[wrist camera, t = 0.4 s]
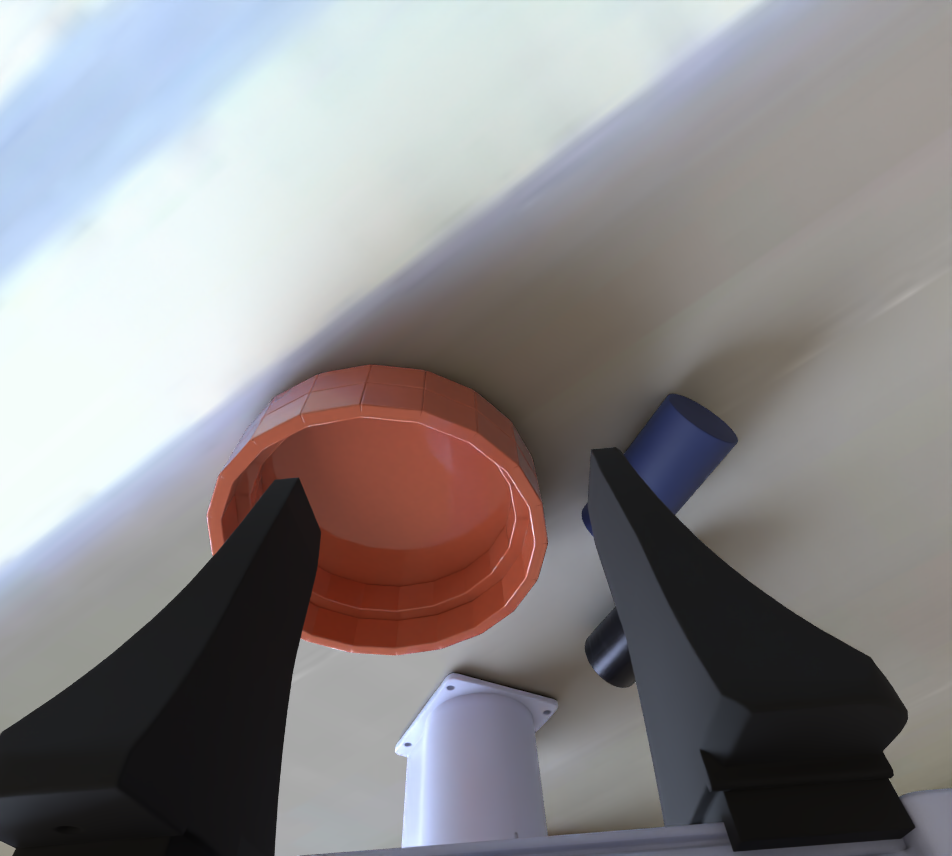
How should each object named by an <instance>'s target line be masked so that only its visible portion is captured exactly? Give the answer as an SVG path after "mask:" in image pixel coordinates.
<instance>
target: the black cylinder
mask: <svg viewBox="0 0 952 856" xmlns="http://www.w3.org/2000/svg"><path fill="white" fill-rule="evenodd" d="M585 653H586V656H587V659H588V661H589V663H590V665H591V666H592V668H593V669H594V670H595V672H596V673H597V674H598V675H599V676H600V677H601V678H602V679H604V680H605V681H606V682H608V683H610V684H611V685H613V686H616V687H620V688H626V687H630V686H632V685H633V684H634V683H635V682H636V679H635V675H634V671H633V666H632V662H631V657H630V653H629V649H628V644H627V640H626V637H625V633H624V630H623V627H622V623H621V620H620V617H619V614H618V611H617V608H616V607H615V608H614V609H613V610H612V611H611V612H610V613H609V614H608V616H607V617H606V618H605V619H604V620H603V621H602V622H601V623H600V624H599V626H598V627H597V628H596V629H595V630H594V631H593V632H592V633H591V635H590V636H589V637H588V638H587V640H586V642H585Z"/></svg>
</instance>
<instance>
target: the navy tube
mask: <svg viewBox="0 0 952 856" xmlns="http://www.w3.org/2000/svg"><path fill="white" fill-rule="evenodd" d="M737 442H738V438H737V436H736V434H735V433H734V432H733V430H732V429H731V428H730V427H729V426H728V425H727V424H726V423H725V422H724V421H722V420H721V419H720V418H719V417H718V416H716V415H715V414H714V413H712V412H711V411H709V410H708V409H706V408H705V407H703V406H702V405H700V404H698V403H696V402H695V401H693V400H691V399H689V398H686V397H684V396H681V395H678V394H669V395H668V396H667V397H666V398H665V400H664V401H663V402H662V404H661V405H660V406H659V408H658V409H657V410H656V412H655V413H654V414H653V416H652V417H651V418H650V420H649V421H648V422H647V424H646V425H645V426H644V428H643V429H642V430H641V432H640V433H639V434H638V436H637V437H636V438H635V440H634V441H633V442H632V444H631V445H630V446H629V448H628V449H627V450H626V452H625V453H624V454H623V455H624V456H625V458H626V459H627V460H628V462H629V463H630V464H631V465H632V467H633V468H634V469H635V471H636V472H637V473H638V474H639V476H640V477H641V478H642V479H643V480H644V482H645V483H646V484H647V485H648V486H649V487H650V489H651V490H652V491H653V492H654V493H655V494H656V495H657V497H658V498H659V499H660V500H661V501H662V502H663V503H664V504H665V505H666V506H667V507H668V509H669V510H670V511H671V512H672V513H673V514H674V515H675V514H676V513H677V512H678V511H679V510H680V509H681V507H682V506H683V505H684V504H685V503H686V502H687V501H688V499H689V498H690V497H691V496H692V495H693V494H694V492H695V491H696V490H697V489H698V488H699V487H700V485H701V484H702V483H703V482H704V481H705V480H706V479H707V477H708V476H709V475H710V474H711V473H712V472H713V470H714V469H715V468H716V467H717V466H718V465H719V464H720V462H721V461H722V460H723V459H724V458H725V457H726V455H727V454H728V453H729V452H730V451H731V450H732V448H733V447H734V446H735V445H736V444H737ZM582 520H583V522H584V524H585V526H586V528H587V529H588V531H589V532H590V533H591V535H592V536H593V531H592V526H591V521H590V516H589V511H588V502H587V504H586V505H585V506H584V508H583V510H582ZM593 537H594V536H593Z"/></svg>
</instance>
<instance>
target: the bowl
mask: <svg viewBox="0 0 952 856" xmlns="http://www.w3.org/2000/svg"><path fill="white" fill-rule="evenodd" d="M298 477H299V479H300V481H301V483H302V486H303V488H304V491H305V493H306V496H307V498H308V501H309V503H310V506H311V508H312V510H313V513H314V515H315V518H316V520H317V523H318V525H319V528H320V530H321V539H320V550H319V559H318V567H317V572H316V577H315V581H314V585H313V589H312V594H311V598H310V602H309V606H308V610H307V614H306V618H305V622H304V626H303V630H302V634H301V639H303V640H305V641H308V642H311V643H315V644H319V645H323V646H326V647H330V648H334V649H338V650H342V651H346V652H349V653H350V652H352V653H361V654H379V655H404V654H411V653H418V652H425V651H431V650H438V649H443V648H445V647H448V646H451V645H453V644H456V643H458V642H461V641H464V640H466V639H469V638H472V637H474V636H477V635H480V634H482V633H484V632H485V631H486V630H488V629H489V628H491V627H492V626H493V625H495V624H496V623H498V622H499V621H501V620H502V619H503V618H505V617H506V616H508V615H509V614H511V613H512V612H513V611H514V610H515V609H516V608H517V606H518V605H519V604H520V602H521V601H522V600H523V599H524V597H525V596H526V595H527V593H528V592H529V591H530V589H531V588H532V587H533V585H534V584H535V583H536V581H537V579H538V577H539V574H540V570H541V567H542V563H543V559H544V556H545V552H546V549H547V545H548V537H547V530H546V523H545V516H544V509H543V503H542V498H541V494H540V489H539V485H538V480H537V475H536V471H535V466H534V461H533V458H532V456H531V454H530V452H529V451H528V449H527V447H526V445H525V444H524V442H523V440H522V439H521V437H520V435H519V433H518V432H517V430H516V428H515V427H514V425H513V423H512V422H511V421H510V420H509V419H508V418H507V417H506V416H504V415H503V414H502V413H501V412H500V411H498V410H497V409H496V408H495V407H494V406H493V405H491V404H490V403H489V402H488V401H487V400H485V399H484V398H483V397H482V396H481V395H479V394H478V393H477V392H476V391H474V390H473V389H470V388H468V387H465V386H463V385H461V384H458V383H456V382H453V381H451V380H449V379H446V378H444V377H441V376H439V375H437V374H434V373H432V372H429V371H425V370H420V369H411V368H402V367H393V366H384V365H375V364H373V365H371V364H369V365H363V366H357V367H352V368H346V369H341V370H335V371H329V372H324V373H320V374H317V375H315V376H313V377H311V378H309V379H307V380H306V381H304V382H302V383H300V384H298V385H296V386H294V387H292V388H291V389H289V390H287V391H285V392H283V393H281V394H279V395H277V396H276V397H274V398H273V399H272V400H271V401H270V403H269V404H268V405H267V406H266V407H265V408H264V409H263V411H262V412H261V413H260V414H259V415H258V416H257V417H256V419H255V420H254V421H253V422H252V423H251V424H250V425H249V427H248V428H247V429H246V430H245V432H244V434H243V435H242V437H241V439H240V440H239V442H238V444H237V446H236V447H235V449H234V451H233V452H232V454H231V455H230V457H229V459H228V460H227V462H226V464H225V465H224V467H223V469H222V470H221V472H220V474H219V476H218V479H217V482H216V485H215V488H214V492H213V495H212V498H211V501H210V505H209V508H208V511H207V524H208V530H209V537H210V544H211V551H212V556H214V555H215V554H216V552H217V551H218V550H219V549H220V548H221V546H222V545H223V544H224V543H225V542H226V540H227V539H228V538H229V537H230V535H231V534H232V533H233V532H234V531H235V529H236V528H237V527H238V526H239V524H240V523H241V522H242V521H243V519H244V518H245V517H246V515H247V514H248V513H249V512H250V510H251V509H252V508H253V507H254V505H255V504H256V503H257V501H258V500H259V499H260V498H261V496H262V495H263V494H264V492H265V491H266V490H267V489H268V487H269V486H270V485H271V484H272V483H273V481H274V480H277V479H287V478H298Z"/></svg>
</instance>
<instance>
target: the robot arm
mask: <svg viewBox="0 0 952 856" xmlns="http://www.w3.org/2000/svg"><path fill="white" fill-rule="evenodd" d="M588 511H589V516H590V521H591V526H592V531H593V536H594V540H595V545H596V548H597V551H598V554H599V557H600V560H601V563H602V566H603V569H604V572H605V575H606V578H607V581H608V584H609V587H610V590H611V593H612V596H613V599H614V602H615V605H616V608H617V611H618V614H619V617H620V620H621V623H622V627H623V630H624V633H625V637H626V640H627V644H628V649H629V653H630V657H631V662H632V666H633V671H634V675H635V679H636V684H637V689H638V693H639V698H640V702H641V707H642V712H643V716H644V721H645V726H646V731H647V736H648V741H649V746H650V751H651V756H652V761H653V766H654V771H655V776H656V782H657V787H658V792H659V798H660V803H661V809H662V814H663V820H664V825H665V827H657V828H644V829H631V830H619V831H606V832H593V833H581V834H568V835H555V836H548V832H547V824H546V817H545V809H544V801H543V793H542V785H541V778H540V770H539V762H538V754H537V746H536V738H535V733H536V732H537V731H538V729H539V728H540V727H541V726H542V725H543V724H544V723H545V722H546V721H547V720H548V719H549V718H550V717H551V716H552V715H553V714H554V712H555V711H556V710H557V709H558V703H557V701H556V700H554V699H551V698H548V697H544V696H540V695H536V694H532V693H529V692H525V691H521V690H517V689H514V688H510V687H506V686H502V685H499V684H495V683H491V682H487V681H483V680H480V679H476V678H472V677H468V676H465V675H461V674H457V673H451V674H449V675H448V676H447V677H446V678H445V679H444V681H443V682H442V683H441V685H440V686H439V688H438V689H437V690H436V692H435V693H434V694H433V696H432V697H431V698H430V700H429V701H428V703H427V704H426V705H425V707H424V708H423V709H422V711H421V712H420V713H419V715H418V716H417V718H416V719H415V720H414V722H413V723H412V724H411V726H410V727H409V728H408V730H407V731H406V732H405V734H404V735H403V737H402V738H401V739H400V741H399V742H398V743H397V745H396V748H395V752H396V753H397V754H398V755H402V756H406V757H408V761H407V776H406V791H405V806H404V821H403V836H402V848H391V849H378V850H365V851H353V852H340V853H327V854H315V855H302V856H952V788H947V789H934V790H922V791H916V792H911V793H908V794H905V795H902V796H900V797H898V795H897V793H896V791H895V789H894V788H893V786H892V784H891V782H890V780H889V779H888V778H892V777H893V776H894V774H893V769H892V767H891V766H890V764H889V762H888V760H887V759H886V757H885V755H884V753H883V750H884V749H885V748H886V747H887V746H888V745H889V744H890V743H891V742H892V741H893V740H894V739H895V737H896V736H897V735H898V734H899V733H900V732H901V731H902V729H903V728H904V726H905V724H906V722H907V720H908V711H907V709H906V707H905V706H904V704H903V703H902V701H901V700H900V698H899V696H898V695H897V693H896V692H895V690H894V688H893V687H892V685H891V684H890V683H889V681H888V680H887V678H886V677H885V676H884V674H883V673H882V672H881V671H880V669H879V668H878V667H877V666H876V664H875V663H874V661H873V660H872V659H871V657H869V656H867V655H865V654H864V653H862V652H860V651H858V650H857V649H855V648H853V647H851V646H849V645H848V644H846V643H844V642H842V641H841V640H839V639H837V638H835V637H833V636H832V635H830V634H828V633H826V632H824V631H823V630H821V629H819V628H818V627H816V626H814V625H813V624H811V623H810V622H808V621H806V620H805V619H803V618H802V617H800V616H798V615H797V614H795V613H794V612H792V611H791V610H789V609H787V608H786V607H785V606H783V605H782V604H780V603H779V602H777V601H776V600H775V599H773V598H772V597H770V596H769V595H768V594H766V593H765V592H763V591H762V590H761V589H759V588H758V587H756V586H755V585H753V584H752V583H751V582H749V581H748V580H747V579H746V578H744V577H743V576H742V575H740V574H739V573H738V572H737V571H735V570H734V569H733V568H732V567H730V566H729V565H728V564H727V563H726V562H724V561H723V560H722V559H721V558H720V557H718V556H717V555H716V554H715V553H714V552H713V551H711V550H710V549H709V548H708V547H707V546H706V545H705V544H704V543H703V542H702V541H700V540H699V539H698V538H697V537H696V536H695V535H694V534H693V533H692V532H691V531H690V530H689V529H688V528H687V527H686V526H685V525H684V524H683V523H682V522H681V521H680V520H679V519H678V518H677V517H676V516H675V515H674V514H673V513H672V512H671V511H670V510H669V509H668V507H667V506H666V505H665V504H664V503H663V502H662V501H661V500H660V499H659V498H658V497H657V495H656V494H655V493H654V492H653V491H652V490H651V489H650V487H649V486H648V485H647V484H646V483H645V482H644V480H643V479H642V478H641V477H640V476H639V474H638V473H637V472H636V471H635V469H634V468H633V467H632V465H631V464H630V463H629V462H628V460H627V459H626V458H625V456H624V455H623V454H622V452H621V451H620V450H619V449H618V448H616V447H613V448H602V449H592V450H591V457H590V475H589V493H588ZM320 539H321V530H320V528H319V525H318V523H317V520H316V518H315V515H314V513H313V510H312V508H311V506H310V503H309V501H308V498H307V496H306V493H305V491H304V488H303V486H302V483H301V481H300V479H299V477H298V478H287V479H277V480H274V481H273V483H272V484H271V485H270V486H269V487H268V489H267V490H266V491H265V492H264V494H263V495H262V496H261V498H260V499H259V500H258V501H257V503H256V504H255V505H254V507H253V508H252V509H251V510H250V512H249V513H248V514H247V515H246V517H245V518H244V519H243V521H242V522H241V523H240V524H239V526H238V527H237V528H236V529H235V531H234V532H233V533H232V534H231V535H230V537H229V538H228V539H227V540H226V542H225V543H224V544H223V545H222V546H221V548H220V549H219V550H218V551H217V552H216V554H215V555H214V556H213V557H212V558H211V559H210V560H209V562H208V563H207V564H206V565H205V566H204V567H203V568H202V569H201V571H200V572H199V573H198V574H197V575H196V576H195V577H194V578H193V579H192V581H191V582H190V583H189V584H188V585H187V586H186V587H185V588H184V589H183V590H182V591H181V592H180V593H179V594H178V595H177V596H176V597H175V598H174V599H173V600H172V601H171V602H170V603H169V604H168V605H167V606H166V607H165V608H164V609H163V610H161V611H160V612H159V613H158V614H157V615H156V616H155V617H154V618H153V619H152V620H151V621H150V622H148V623H147V624H146V625H145V626H144V627H143V628H141V629H140V630H139V631H138V632H137V633H136V634H134V635H133V636H132V637H131V638H130V639H129V640H128V641H126V642H125V643H124V644H123V645H122V646H121V647H119V648H118V649H117V650H116V651H115V652H113V653H112V654H111V655H110V656H108V657H107V658H106V659H105V660H103V661H102V662H101V663H99V664H98V665H97V666H96V667H94V668H93V669H92V670H91V671H89V672H88V673H87V674H85V675H84V676H82V677H81V678H80V679H78V680H77V681H76V682H74V683H73V684H72V685H70V686H69V687H68V688H66V689H65V690H63V691H62V692H61V693H59V694H58V695H56V696H55V697H54V698H52V699H51V700H49V701H48V702H46V703H45V704H43V705H42V706H40V707H39V708H37V709H36V710H34V711H33V712H31V713H30V714H28V715H27V716H25V717H24V718H23V719H21V720H20V721H18V722H17V723H15V724H14V725H12V726H10V727H9V728H7V729H6V730H4V731H3V732H2V733H1V734H0V841H2V842H4V843H6V844H8V845H10V846H12V847H14V848H16V850H15V852H14V854H13V856H274V854H275V837H276V822H277V807H278V794H279V783H280V773H281V762H282V752H283V743H284V735H285V726H286V718H287V710H288V703H289V695H290V688H291V681H292V674H293V669H294V664H295V659H296V654H297V650H298V646H299V642H300V638H301V634H302V630H303V626H304V622H305V618H306V614H307V610H308V606H309V602H310V598H311V594H312V589H313V585H314V581H315V577H316V572H317V567H318V559H319V550H320Z"/></svg>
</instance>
